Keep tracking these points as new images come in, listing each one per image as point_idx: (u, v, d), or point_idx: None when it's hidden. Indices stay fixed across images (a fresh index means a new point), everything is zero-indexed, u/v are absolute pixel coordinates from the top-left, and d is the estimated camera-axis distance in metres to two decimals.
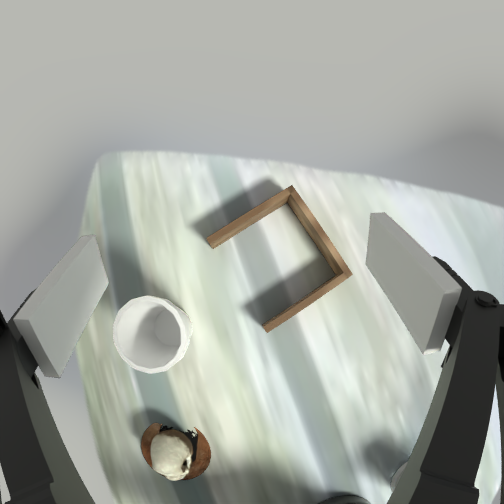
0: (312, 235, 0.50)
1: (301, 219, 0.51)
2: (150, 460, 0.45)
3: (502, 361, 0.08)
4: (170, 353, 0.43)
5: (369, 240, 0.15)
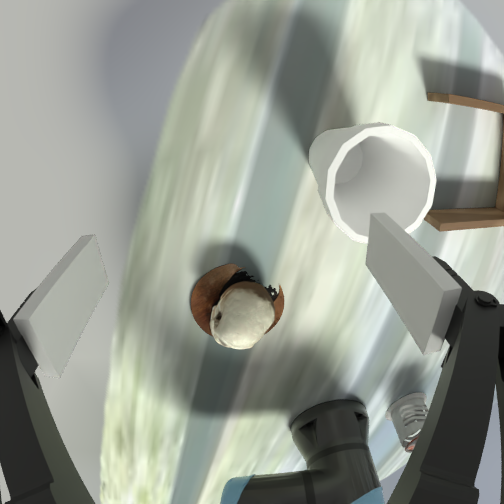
0: None
1: None
2: (197, 307, 0.41)
3: (502, 361, 0.08)
4: (344, 201, 0.30)
5: (369, 240, 0.15)
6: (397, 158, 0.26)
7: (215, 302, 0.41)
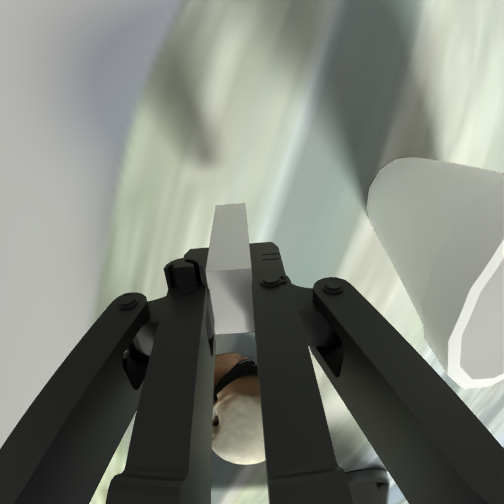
0: None
1: None
2: None
3: (326, 354, 0.10)
4: None
5: None
6: None
7: None
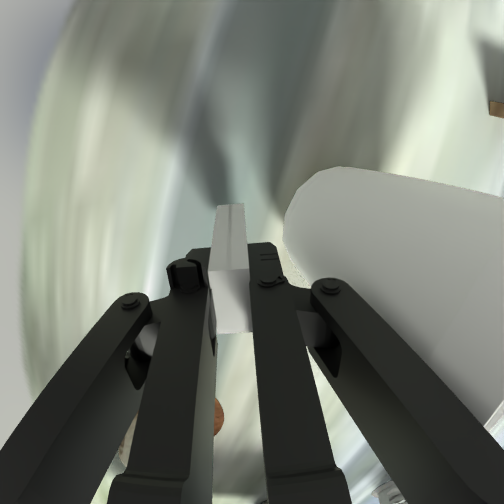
0: None
1: None
2: None
3: (324, 354, 0.10)
4: None
5: None
6: None
7: None
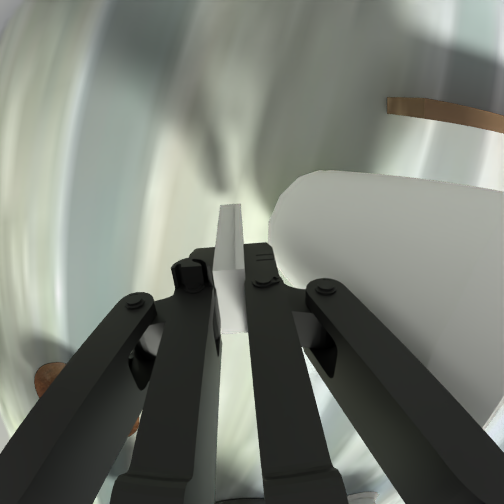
0: None
1: None
2: None
3: (320, 355, 0.10)
4: None
5: None
6: None
7: None
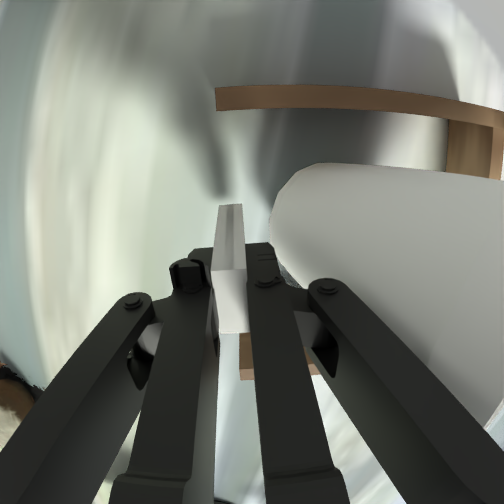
0: None
1: None
2: None
3: (321, 355, 0.10)
4: None
5: None
6: None
7: None
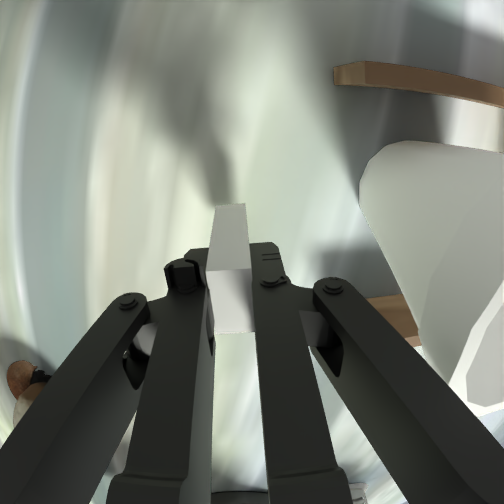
0: None
1: None
2: (19, 397, 0.26)
3: (326, 354, 0.10)
4: None
5: None
6: None
7: None
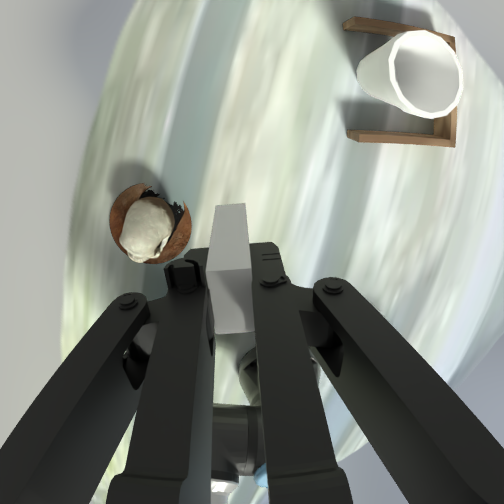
0: None
1: None
2: (115, 229, 0.44)
3: (326, 354, 0.10)
4: None
5: None
6: (429, 63, 0.28)
7: None
